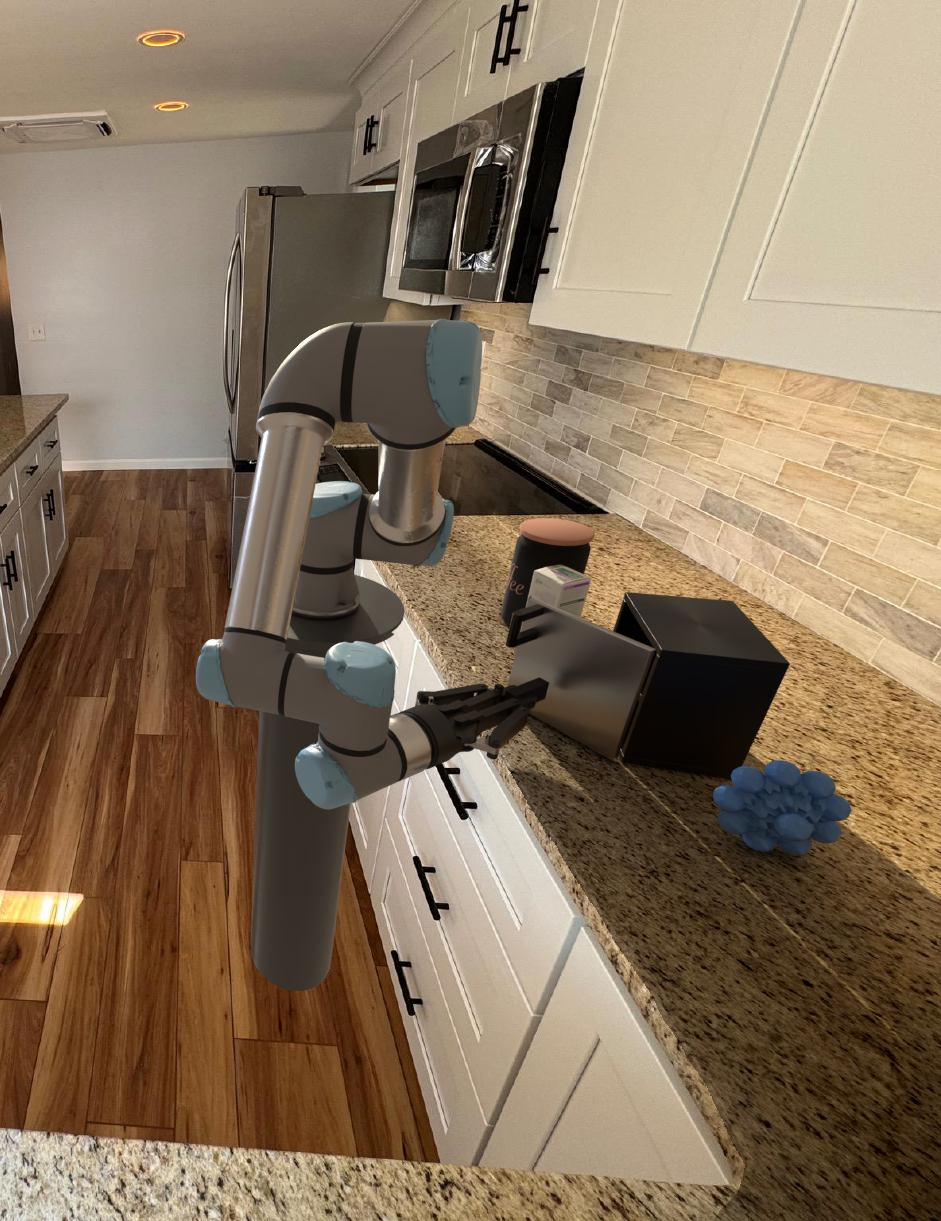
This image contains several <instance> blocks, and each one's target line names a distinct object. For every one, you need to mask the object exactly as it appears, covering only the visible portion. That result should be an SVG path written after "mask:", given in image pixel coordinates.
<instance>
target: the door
mask: <svg viewBox="0 0 941 1221" xmlns="http://www.w3.org/2000/svg"><path fill="white" fill-rule="evenodd" d="M521 622H523V624H522V628H521V632H519V630H520V626H521ZM505 646H506V647H507V648H516V649H515V653H514V657H513V661H512V666H511V669H510V673H509V678H508V680H507V681H508V682H507V686H510V685H516V686H519V685H521V684H524V683H526V682H529V681H531V680H534V679H536V678H539V677H540V678H542V679H544V680H546V681H548V682H550V683H549V686H548V690H547V693H546V697H545V699H544V700H541V701H539V702H537V703H536V705H535V707H534V708H532V709H530V711H529V715H531V716H533V717H535V719H538V720H539V721H541V722H543V723H545V724H547V725H548V726H550V727H552V728H554V729H555V730H557V731H558V732H561V733H562V734H564V735H566V736H567V737H570V738H571V739H573V740H574V741H576V742H578V743H580V744H581V745H582V746H583V745H584V746H585V747H587V748H589V749H590V750H592V751H593V752H595V753H598V754H599V755H601V756H603V757H604V758H606V759H608V760H609V761H611V762H613V761H616V760H617V759H618V758H619V752H620V749H621V746H622V744H623V741H624V738H625V735H626V732H627V730H628V727H629V724H630V721H631V718H632V715H633V713H634V710H635V707H636V704H637V701H638V699H639V696H640V693H641V690H642V687H643V684H644V682H645V679H646V676H647V673H648V670H649V667H650V665H651V662H652V659H653V656H654V653H655V651H656V649H654V648H652V647H649V646H647V645H645V644H642V643H640V642H637V641H635V640H633V639H630V638H628V637H625V636H623V635H621V634H618V633H616V632H613V630H611V629H609V628H606V627H604V626H601V625H599V624H597V623H594V622H591V621H589V620H587V619H584V618H582V617H581V618H580V617H577V616H575V615H573V614H570V613H568V612H565V611H563V610H561V609H558V608H556V607H553V606H551V605H549V604H546V603H544V602H541V601H539V600H537V599H534V598H532V599H529V600H528V603H527V607H526V608H524V609H521V610H518V611H515V612H513V615H512V619H511V623H510V628H509V627H508V632H507V636H506V641H505Z"/></svg>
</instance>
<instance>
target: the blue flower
mask: <svg viewBox="0 0 941 1221" xmlns="http://www.w3.org/2000/svg"><path fill="white" fill-rule="evenodd" d="M730 780H731V784H732V785H728V784H727V785H726V784H723V785H720V786H718V787H716V788H715V789H714V791H713V793H712V796H713V801H714V804H715V805H716V806H717V807H718V808H719V809H721V810H720V811H719V812H718V815H717V821H718V825H719V826H720V828H721V829H722V830H723V831H724V832H726V833H728V834H730V835H734V836H742V840H743V842H744V843H745V845H746V846H747V847H748V848H750V849H752V850H754V851H755V852H756V851H757V852H762V853H765V852H766V853H767V852H771V851H772V850H774V849H775V848H776V846H777V847H779V848H780V849H781V850H782V851H783V852H785V853H787V854H789V855H792V856H804V855H807V854H808V853H810V851H811V849H812V847H813V843H812V840H813V841H815V842H817V843H820V844H825V845H827V844H828V845H829V844H834V843H836V842H838V841H840V838H841V837H842V834H843V833H842V828H841V826H840V824H839V823H838V822H843V821H845V820H848V818H850V815H851V813H852V807H851V803H850V802H849V800H847V799H846V797H844V796H841V795H840V794H837V793H835V791H836V789H837V787H836V783H835V780H834V779H832V777H831V776H830V775H829V774H826V773H825V772H822V771H821V770H820V771H819V770H806V771H804V772H802V771H801V769H800V768H799V767H798V766H797V765H796V764H795V763H793V762H790V761H788V760H782V759H781V760H780V759H775V760H772V761H770V762H768V763H766V765H765V767H764V769H763V772H762V770H760V769H758V768H756V767H754V766H747V765H746V766H745V765H742V766H741V767H738V768H736V769H735V770H733V772H732V774H731V779H730Z"/></svg>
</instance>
